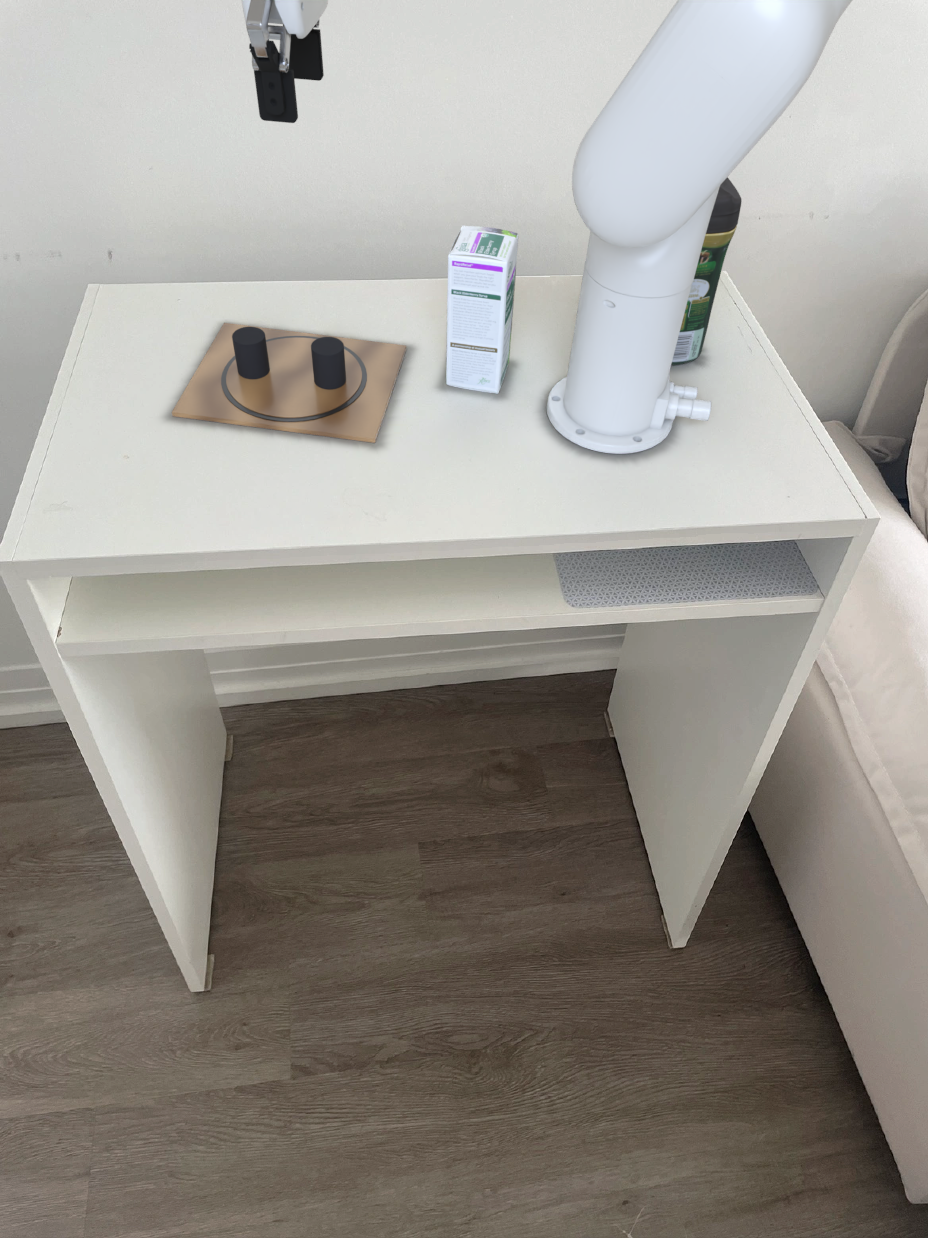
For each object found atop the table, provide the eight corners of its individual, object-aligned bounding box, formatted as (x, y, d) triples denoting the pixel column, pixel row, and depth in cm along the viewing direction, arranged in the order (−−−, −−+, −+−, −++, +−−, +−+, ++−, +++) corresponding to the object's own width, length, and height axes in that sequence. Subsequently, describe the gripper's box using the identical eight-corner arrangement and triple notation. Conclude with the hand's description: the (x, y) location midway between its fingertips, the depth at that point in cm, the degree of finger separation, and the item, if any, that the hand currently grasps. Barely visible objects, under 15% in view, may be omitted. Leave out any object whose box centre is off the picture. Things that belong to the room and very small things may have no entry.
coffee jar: (614, 320, 102) (647, 149, 88) (681, 318, 103) (725, 148, 89) (636, 371, 96) (675, 196, 82) (707, 368, 97) (759, 194, 83)
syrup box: (499, 395, 92) (511, 260, 81) (443, 386, 93) (447, 251, 82) (509, 363, 96) (522, 230, 85) (454, 355, 97) (460, 221, 85)
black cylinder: (273, 363, 93) (269, 328, 90) (264, 381, 91) (259, 346, 88) (243, 359, 93) (237, 324, 90) (233, 377, 91) (227, 342, 88)
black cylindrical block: (349, 373, 92) (347, 338, 89) (341, 391, 90) (339, 356, 87) (318, 369, 93) (315, 334, 90) (310, 387, 91) (307, 352, 88)
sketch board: (406, 349, 97) (406, 343, 96) (375, 443, 87) (374, 437, 86) (224, 326, 98) (223, 320, 98) (172, 416, 88) (170, 410, 87)
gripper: (288, -122, 62) (312, 142, 75) (342, -170, 73) (354, 66, 86) (181, -130, 62) (223, 134, 75) (250, -177, 73) (276, 60, 86)
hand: (293, 98), depth 80 cm, fingers open, 9 cm apart
